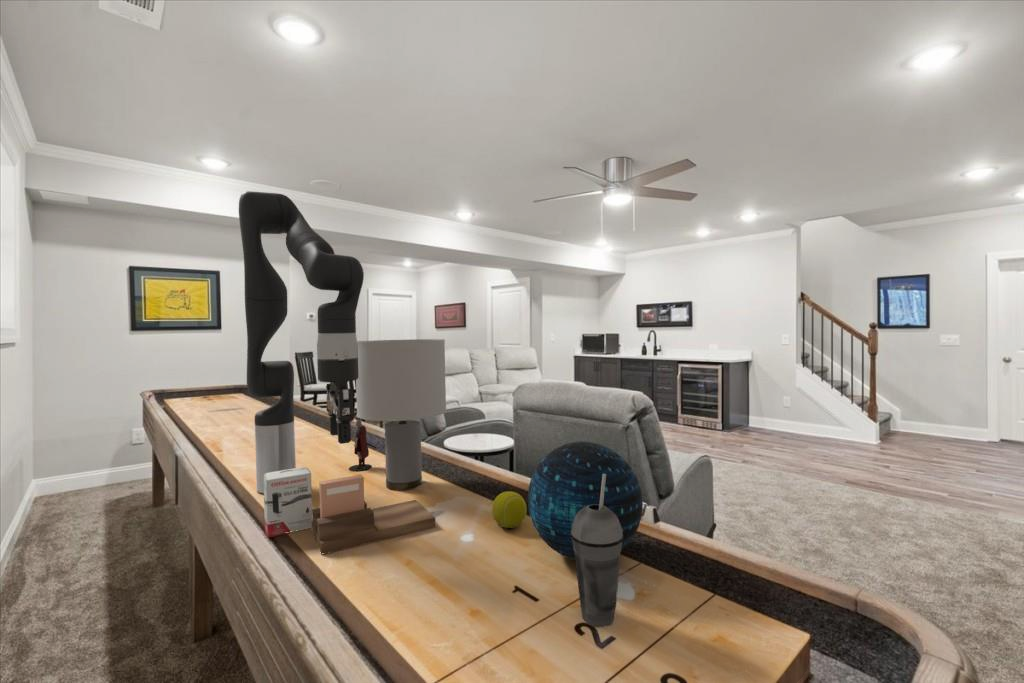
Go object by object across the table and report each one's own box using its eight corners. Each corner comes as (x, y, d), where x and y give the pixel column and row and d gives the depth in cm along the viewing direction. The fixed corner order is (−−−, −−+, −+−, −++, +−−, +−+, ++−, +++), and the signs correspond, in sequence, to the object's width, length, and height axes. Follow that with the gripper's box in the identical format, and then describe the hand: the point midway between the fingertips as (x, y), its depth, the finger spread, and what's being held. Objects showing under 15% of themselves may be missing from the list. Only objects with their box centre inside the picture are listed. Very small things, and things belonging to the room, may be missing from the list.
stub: (320, 527, 92) (319, 481, 92) (362, 518, 96) (361, 474, 96) (322, 531, 90) (321, 484, 90) (364, 521, 95) (363, 477, 94)
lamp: (465, 479, 128) (462, 339, 127) (403, 506, 108) (399, 341, 108) (404, 467, 140) (401, 339, 139) (339, 490, 121) (335, 341, 120)
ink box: (267, 538, 93) (265, 479, 93) (264, 530, 97) (262, 473, 97) (313, 527, 98) (311, 471, 97) (309, 520, 102) (307, 465, 102)
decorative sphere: (506, 551, 86) (504, 442, 85) (583, 522, 98) (582, 426, 97) (587, 600, 70) (585, 466, 69) (667, 558, 82) (666, 444, 81)
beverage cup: (566, 603, 69) (564, 467, 69) (615, 600, 70) (613, 465, 69) (578, 635, 62) (575, 484, 61) (632, 631, 62) (630, 481, 62)
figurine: (354, 464, 144) (353, 415, 144) (377, 465, 143) (376, 415, 143) (344, 471, 137) (343, 420, 137) (368, 471, 136) (367, 420, 136)
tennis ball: (533, 528, 95) (532, 494, 95) (503, 536, 92) (502, 501, 92) (515, 517, 101) (514, 484, 101) (486, 524, 98) (485, 491, 98)
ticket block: (311, 531, 96) (311, 506, 96) (415, 508, 107) (415, 486, 107) (321, 554, 86) (320, 527, 86) (435, 526, 97) (434, 502, 97)
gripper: (312, 356, 97) (314, 434, 97) (323, 358, 85) (326, 448, 85) (350, 354, 101) (352, 430, 101) (366, 357, 88) (368, 443, 89)
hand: (340, 438), depth 93 cm, fingers open, 8 cm apart
